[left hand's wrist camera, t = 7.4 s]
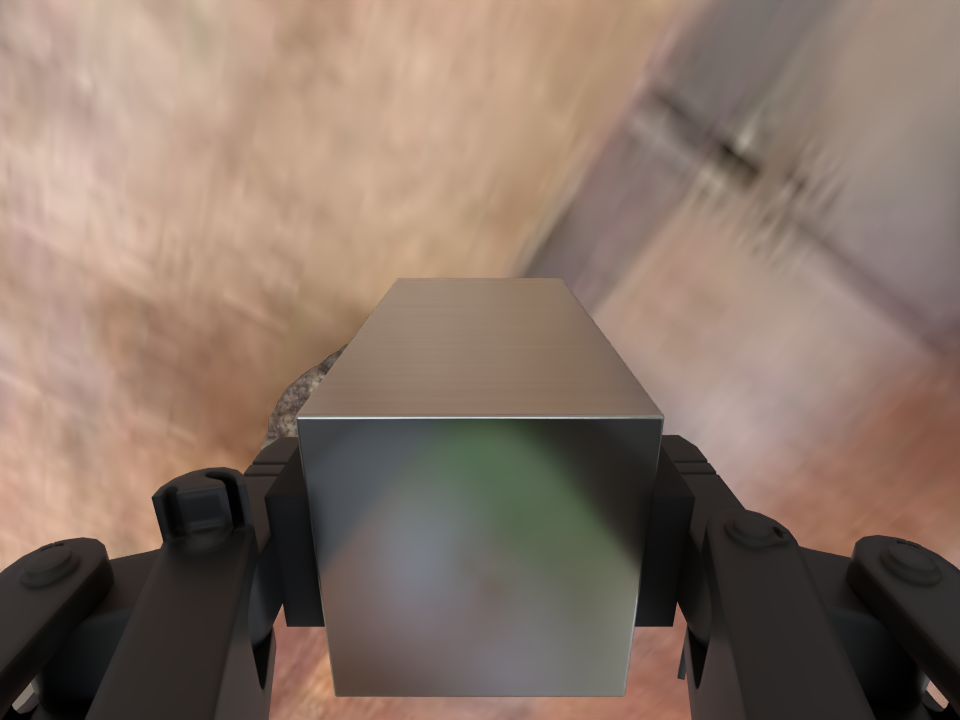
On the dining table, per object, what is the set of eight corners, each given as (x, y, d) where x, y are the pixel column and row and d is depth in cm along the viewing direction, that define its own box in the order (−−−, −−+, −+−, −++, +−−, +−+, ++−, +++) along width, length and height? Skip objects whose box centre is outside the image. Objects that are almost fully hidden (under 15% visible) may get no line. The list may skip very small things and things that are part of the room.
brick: (562, 277, 16) (666, 415, 7) (553, 436, 18) (625, 698, 9) (397, 277, 16) (293, 416, 7) (406, 436, 18) (333, 698, 9)
